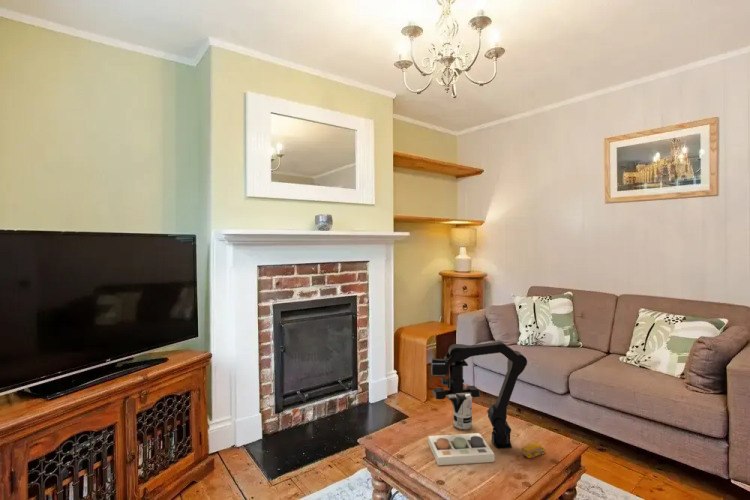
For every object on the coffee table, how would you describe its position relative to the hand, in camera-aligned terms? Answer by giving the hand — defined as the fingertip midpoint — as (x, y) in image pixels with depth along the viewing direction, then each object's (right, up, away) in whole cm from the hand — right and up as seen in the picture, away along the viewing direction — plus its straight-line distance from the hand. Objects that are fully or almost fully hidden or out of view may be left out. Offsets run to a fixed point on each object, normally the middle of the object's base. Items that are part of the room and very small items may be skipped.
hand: (456, 412), depth 161 cm
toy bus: (+29, -13, -9) cm, 33 cm away
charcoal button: (+7, -11, -6) cm, 14 cm away
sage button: (0, -11, -7) cm, 13 cm away
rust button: (-7, -11, -7) cm, 15 cm away
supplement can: (+6, -13, +15) cm, 20 cm away
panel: (0, -13, -7) cm, 15 cm away
